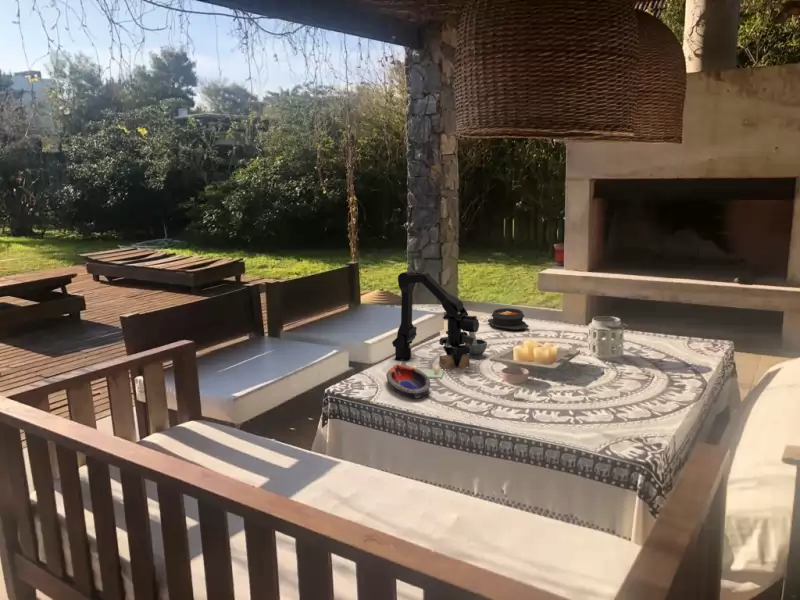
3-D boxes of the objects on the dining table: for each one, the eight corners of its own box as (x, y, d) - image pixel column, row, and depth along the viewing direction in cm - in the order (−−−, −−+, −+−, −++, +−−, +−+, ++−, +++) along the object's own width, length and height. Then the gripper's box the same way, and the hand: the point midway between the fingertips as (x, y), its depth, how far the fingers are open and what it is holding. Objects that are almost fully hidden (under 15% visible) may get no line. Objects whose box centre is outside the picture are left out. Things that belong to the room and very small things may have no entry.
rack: (407, 377, 265) (407, 368, 264) (410, 370, 273) (410, 362, 272) (441, 378, 262) (441, 369, 262) (443, 371, 271) (443, 363, 270)
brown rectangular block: (442, 370, 273) (442, 358, 272) (439, 366, 277) (439, 355, 276) (469, 367, 276) (469, 356, 275) (465, 364, 280) (465, 353, 279)
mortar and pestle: (490, 358, 287) (490, 332, 284) (471, 361, 284) (471, 334, 281) (479, 351, 297) (479, 326, 295) (460, 354, 294) (460, 328, 292)
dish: (398, 404, 237) (397, 391, 236) (380, 376, 266) (380, 364, 265) (438, 399, 240) (438, 386, 239) (417, 372, 269) (416, 360, 268)
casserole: (537, 329, 333) (537, 313, 331) (508, 334, 324) (508, 318, 323) (507, 319, 355) (507, 304, 353) (479, 324, 346) (479, 309, 344)
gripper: (481, 332, 267) (481, 368, 271) (461, 322, 284) (461, 356, 288) (457, 335, 263) (457, 372, 267) (438, 325, 280) (439, 359, 284)
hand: (454, 364), depth 276 cm, fingers closed on brown rectangular block, 5 cm apart
